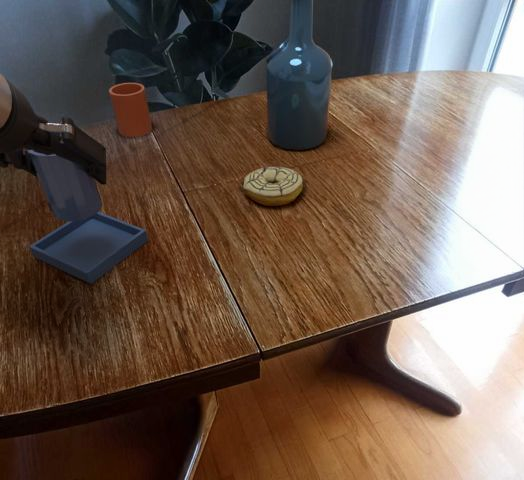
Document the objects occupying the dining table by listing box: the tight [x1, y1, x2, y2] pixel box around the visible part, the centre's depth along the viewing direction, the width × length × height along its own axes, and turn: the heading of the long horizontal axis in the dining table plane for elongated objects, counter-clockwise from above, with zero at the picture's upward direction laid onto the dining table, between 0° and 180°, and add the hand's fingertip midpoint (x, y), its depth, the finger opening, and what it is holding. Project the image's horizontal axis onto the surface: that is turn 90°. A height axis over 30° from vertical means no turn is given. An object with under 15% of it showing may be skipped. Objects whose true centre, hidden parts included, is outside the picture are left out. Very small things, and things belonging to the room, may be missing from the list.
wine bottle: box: [265, 0, 334, 151], centre depth 92 cm, size 14×13×30 cm
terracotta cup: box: [108, 82, 153, 143], centre depth 102 cm, size 7×7×10 cm
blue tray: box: [28, 211, 149, 285], centre depth 76 cm, size 13×13×2 cm
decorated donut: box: [242, 166, 303, 207], centre depth 86 cm, size 10×11×4 cm
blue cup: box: [26, 149, 103, 222], centre depth 67 cm, size 7×7×10 cm
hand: (77, 175), depth 71 cm, fingers closed on blue cup, 7 cm apart
